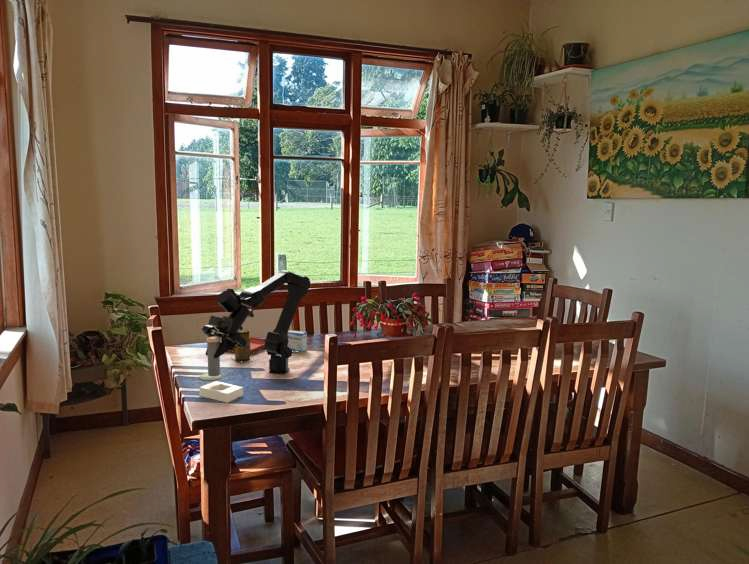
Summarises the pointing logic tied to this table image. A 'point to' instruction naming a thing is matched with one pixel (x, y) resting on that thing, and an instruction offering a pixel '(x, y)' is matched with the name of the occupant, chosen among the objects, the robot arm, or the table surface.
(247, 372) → the table surface
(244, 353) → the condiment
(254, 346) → the plant saucer
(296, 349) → the medicine box
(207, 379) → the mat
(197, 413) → the table surface
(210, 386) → the square frame
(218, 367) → the plug
